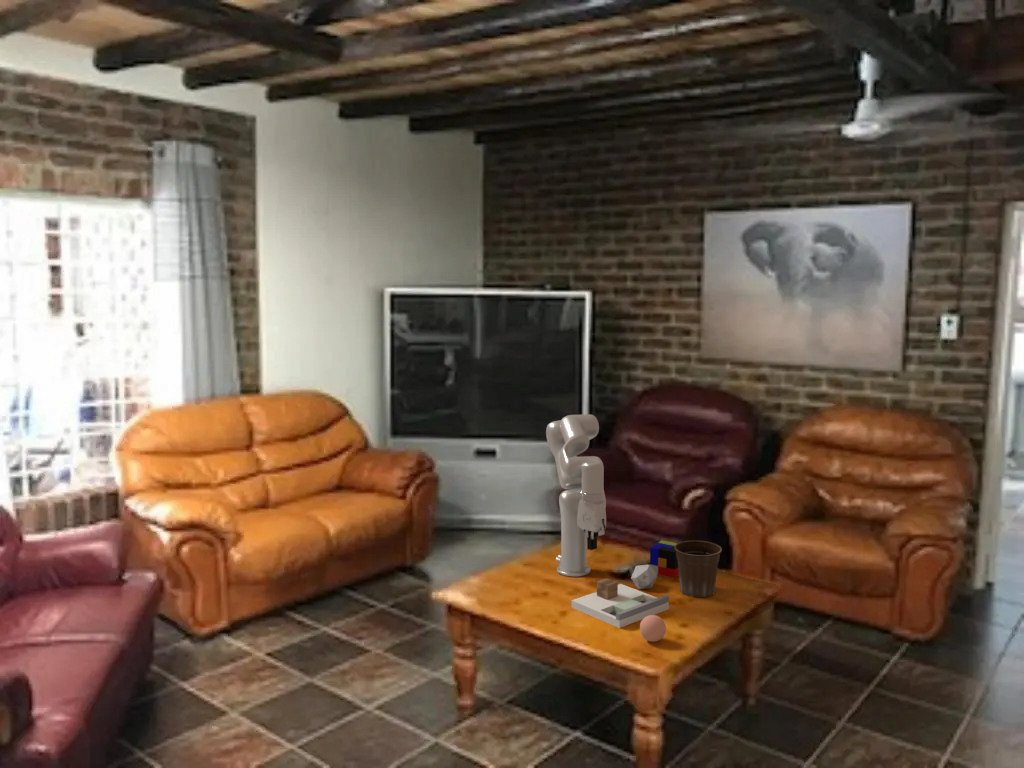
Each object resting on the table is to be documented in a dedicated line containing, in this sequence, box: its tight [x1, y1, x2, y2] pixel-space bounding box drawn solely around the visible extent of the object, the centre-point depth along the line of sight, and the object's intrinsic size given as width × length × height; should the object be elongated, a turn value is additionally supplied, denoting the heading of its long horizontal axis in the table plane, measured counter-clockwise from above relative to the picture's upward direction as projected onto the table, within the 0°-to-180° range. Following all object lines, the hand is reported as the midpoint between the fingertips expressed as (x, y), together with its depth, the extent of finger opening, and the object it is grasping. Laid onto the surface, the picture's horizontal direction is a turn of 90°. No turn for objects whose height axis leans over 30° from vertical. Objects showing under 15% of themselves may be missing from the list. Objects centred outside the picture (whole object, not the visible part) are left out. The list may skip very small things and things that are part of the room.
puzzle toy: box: [649, 540, 679, 579], centre depth 321 cm, size 10×10×10 cm
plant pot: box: [674, 540, 723, 598], centre depth 301 cm, size 16×16×16 cm
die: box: [630, 564, 658, 590], centre depth 306 cm, size 8×9×10 cm
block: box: [596, 578, 619, 600], centre depth 291 cm, size 5×5×5 cm
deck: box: [570, 583, 670, 629], centre depth 287 cm, size 22×24×4 cm
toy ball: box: [639, 614, 667, 643], centre depth 261 cm, size 8×8×8 cm
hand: (592, 548), depth 295 cm, fingers closed
